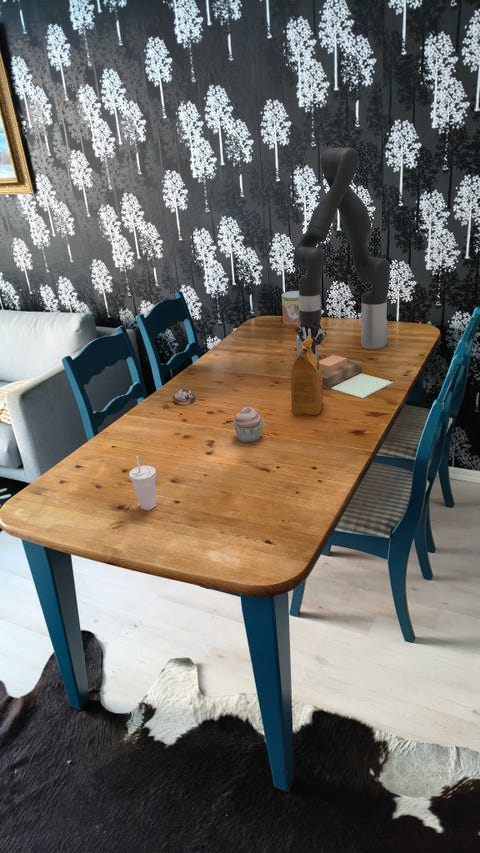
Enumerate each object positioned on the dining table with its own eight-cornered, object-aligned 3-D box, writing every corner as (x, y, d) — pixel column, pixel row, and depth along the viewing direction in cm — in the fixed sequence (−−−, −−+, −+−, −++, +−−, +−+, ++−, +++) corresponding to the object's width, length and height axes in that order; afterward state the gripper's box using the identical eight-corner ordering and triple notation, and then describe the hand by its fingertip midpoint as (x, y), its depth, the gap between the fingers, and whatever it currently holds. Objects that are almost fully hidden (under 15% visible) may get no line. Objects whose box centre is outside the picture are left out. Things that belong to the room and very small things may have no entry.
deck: (335, 365, 223) (335, 355, 222) (362, 373, 215) (362, 362, 213) (301, 381, 213) (300, 370, 211) (327, 389, 205) (327, 378, 203)
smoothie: (136, 500, 153) (126, 451, 147) (162, 497, 154) (153, 448, 147) (134, 515, 148) (124, 464, 141) (161, 512, 148) (152, 461, 142)
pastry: (191, 406, 202) (190, 392, 200) (170, 406, 204) (168, 392, 202) (198, 396, 209) (197, 382, 207) (177, 396, 211) (175, 382, 209)
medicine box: (318, 354, 235) (318, 332, 231) (318, 358, 231) (318, 336, 227) (297, 355, 236) (296, 333, 232) (297, 359, 232) (296, 337, 228)
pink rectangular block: (333, 360, 217) (333, 354, 216) (346, 364, 213) (346, 358, 212) (316, 368, 212) (315, 362, 211) (329, 372, 208) (329, 366, 207)
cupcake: (242, 449, 173) (239, 416, 168) (227, 436, 180) (224, 405, 176) (271, 439, 176) (269, 407, 172) (255, 427, 184) (253, 397, 180)
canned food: (281, 325, 272) (280, 298, 267) (284, 317, 282) (282, 291, 277) (307, 324, 270) (306, 297, 265) (309, 316, 280) (308, 290, 275)
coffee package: (327, 401, 196) (326, 335, 187) (320, 418, 186) (318, 349, 176) (297, 399, 199) (294, 334, 190) (287, 416, 189) (284, 348, 179)
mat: (361, 374, 214) (361, 373, 214) (392, 383, 205) (392, 381, 205) (330, 389, 205) (330, 387, 205) (362, 398, 196) (362, 397, 196)
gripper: (332, 307, 208) (332, 356, 215) (303, 302, 217) (304, 349, 224) (317, 312, 203) (318, 362, 211) (288, 307, 212) (290, 355, 220)
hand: (311, 355), depth 217 cm, fingers closed
